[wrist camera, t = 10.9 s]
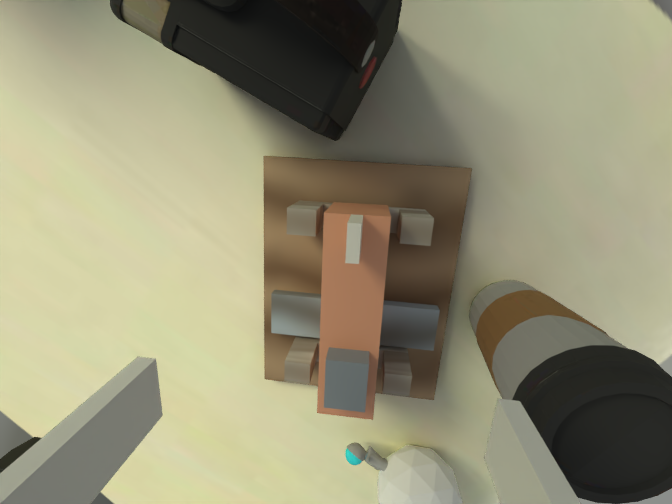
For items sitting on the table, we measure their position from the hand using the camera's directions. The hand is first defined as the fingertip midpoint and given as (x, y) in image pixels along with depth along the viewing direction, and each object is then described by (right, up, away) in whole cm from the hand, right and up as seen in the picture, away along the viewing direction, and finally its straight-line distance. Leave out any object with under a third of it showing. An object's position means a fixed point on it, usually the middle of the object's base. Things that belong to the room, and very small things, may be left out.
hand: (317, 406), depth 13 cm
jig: (+3, +3, +18) cm, 19 cm away
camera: (-2, +23, +14) cm, 27 cm away
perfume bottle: (+8, -16, +23) cm, 29 cm away
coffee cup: (+16, +1, +18) cm, 24 cm away
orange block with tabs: (+2, +2, +16) cm, 17 cm away
